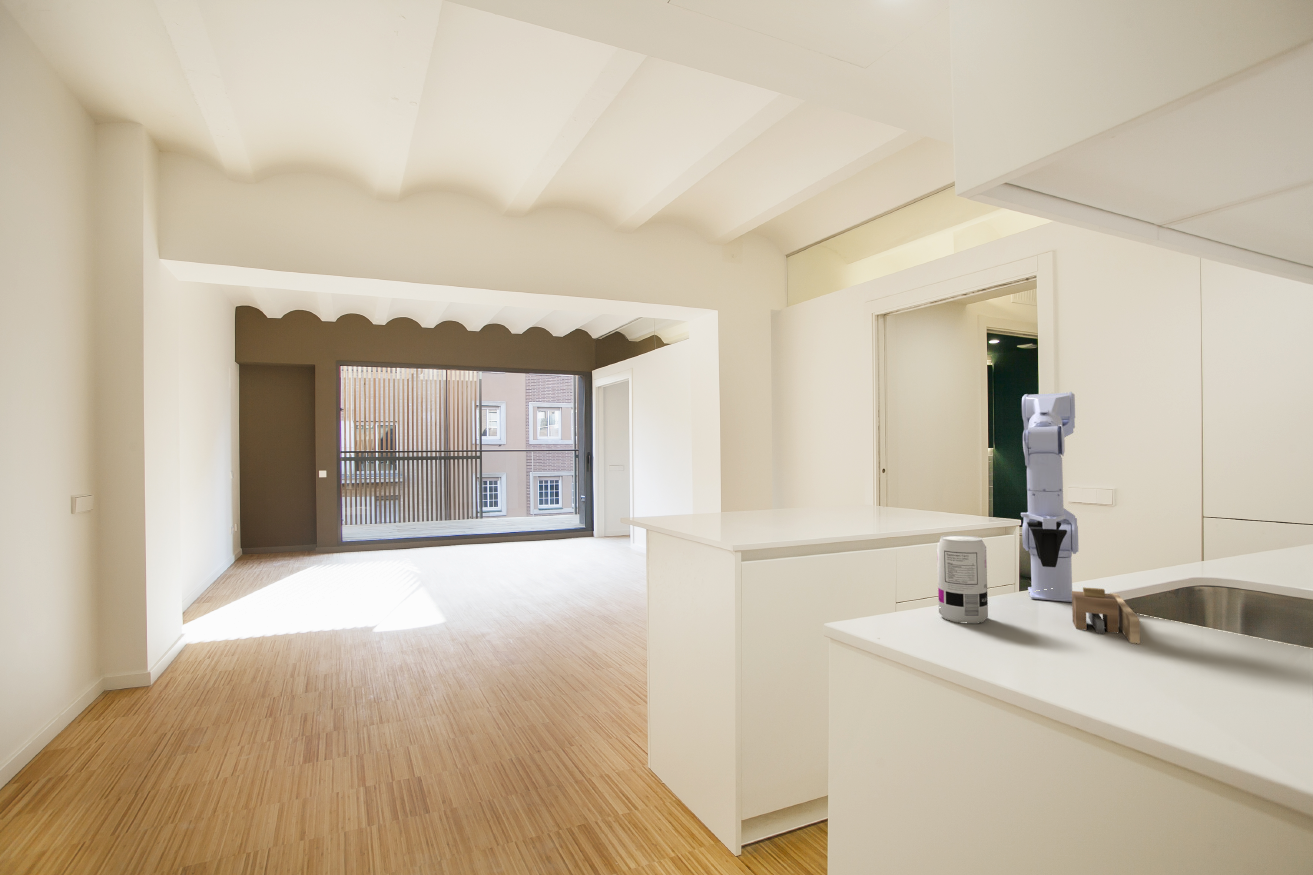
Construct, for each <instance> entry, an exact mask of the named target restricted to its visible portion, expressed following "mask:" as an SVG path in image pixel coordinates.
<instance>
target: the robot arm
mask: <svg viewBox="0 0 1313 875" xmlns="http://www.w3.org/2000/svg"><path fill="white" fill-rule="evenodd" d="M1075 398H1076V396H1075V394H1074V393H1073V392H1072V391H1068V392H1057V393H1056V392H1055V393H1053V392H1052V393H1037V394H1035V393H1034V394H1028V393H1026V394H1024V395H1023V396H1022V398H1021V416H1022V417H1021V418H1022V420H1023V432H1022V447H1023V448H1022V449H1023V450H1022V451H1023V455H1024V462H1025V466H1026V491H1027V511H1026V512H1020V516H1021V518H1023V523H1022V528H1021V529H1022V532H1021V533H1022V534H1021V536H1022V537H1021V538H1022V539H1021V540H1022V547H1023V549H1025V551H1029V555H1030V577H1031V586H1028V587H1027V590H1028V594H1029V597H1030V599H1031V600H1032V599H1033V600H1044V601H1055V602H1066V603H1067V602H1068V603H1069V602H1070V603H1072V591H1073V572H1072V571H1073V570H1072V555H1076V554H1077V553H1078V552H1079V550H1080V549H1079V548H1080V547H1079V525H1078V519H1077V517H1076V515H1075V514H1074V513H1072V512H1071V511H1069V510H1068V509H1066V508H1064V485H1063V484H1064V482H1063V481H1064V480H1063V479H1064V476H1063V457H1064V455H1065V452H1066V446H1065V445H1066V444H1065V441H1066V440H1065V438H1066V437H1068V436H1070V435H1073V434H1074V429H1075V428H1076V426H1075V424H1076V423H1075V422H1076V420H1075V419H1076V399H1075ZM1051 588H1053V589H1051ZM1044 589H1047V590H1044ZM1036 590H1040V591H1036ZM1034 591H1036V592H1034ZM1029 592H1030V593H1029Z"/></svg>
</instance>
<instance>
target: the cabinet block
mask: <svg viewBox="0 0 1313 875" xmlns="http://www.w3.org/2000/svg"><path fill="white" fill-rule="evenodd" d="M1113 594H1114V593H1113ZM1113 594H1110V593H1106V590H1105V589H1104V588H1098V587H1097V588H1096V587H1085V586H1084V587H1082V591H1076V590H1072V602H1071V606H1072V608H1071V610H1072V611H1071V612H1072V613H1071V614H1072V623H1073V626H1074V627H1075V629H1076V630H1082V629H1086V630H1085V631H1087V614H1088V613H1096V614H1099V615H1102V619H1103V621H1104V629H1105V630H1106V632H1107V631H1108V632H1107V633H1112V632H1116V633H1115V634H1119V626H1118V601H1117V599H1116V598H1115V597H1114V596H1113ZM1117 632H1118V633H1117Z"/></svg>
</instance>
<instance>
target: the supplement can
mask: <svg viewBox="0 0 1313 875" xmlns="http://www.w3.org/2000/svg"><path fill="white" fill-rule="evenodd" d="M936 548H937V551H936V552H937V553H936V554H937V556H936V557H937V584H938V586H937V589H938V590H937V591H938V592H937V594H938V613H939V615H940V616H941V617H942V616H943V617H942V618H943V619H944V618H945V619H944V620H946V619H947V620H946V621H949V620H950V621H949V622H953V623H958V622H967V623H975V624H979V623H978V622H981V623H984V622H985V620H987V619H988V617H989V605H988V604H989V603H988V601H989V600H988V571H987V570H988V566H987V563H988V562H987V546H986V545H985V543H984V541H983V537H979V536H975V535H965V534H964V535H963V534H949V535H948V534H946V535H941V536H940V539H939V541H938V543H937V544H936ZM939 607H941V608H939ZM983 621H984V622H983ZM967 623H966V624H967Z"/></svg>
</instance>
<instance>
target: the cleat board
mask: <svg viewBox="0 0 1313 875" xmlns="http://www.w3.org/2000/svg"><path fill="white" fill-rule="evenodd" d="M1109 594H1113V596H1114V597H1115V598H1116V599H1117V601H1118V628H1119V629H1120V628H1121V629H1120V631H1121V632H1122V631H1123V632H1122V633H1123V635H1124V636H1125V637H1126V639H1127V638H1128V639H1127V640H1128V641H1129V643H1130V644H1136V643H1137V644H1138V645H1140V644H1141V638H1140V637H1141V635H1140V634H1141V632H1140V618H1139V617H1138V616H1137V614H1136V613H1135V612H1134V611H1133V610H1132V608H1130V606H1129V605H1128V604H1127V603H1126V601H1124V600H1123V598H1122V597H1121V596H1120V595H1119V593H1114V592H1113V593H1111V592H1110V593H1109ZM1087 614H1088V619H1089V622H1090V623H1091V625H1092V626H1094V627H1093V628H1094V630H1095V632H1096V633H1097V634H1103V635H1104V634H1105V627H1104V621H1103V617H1101V614H1096V613H1087Z"/></svg>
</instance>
